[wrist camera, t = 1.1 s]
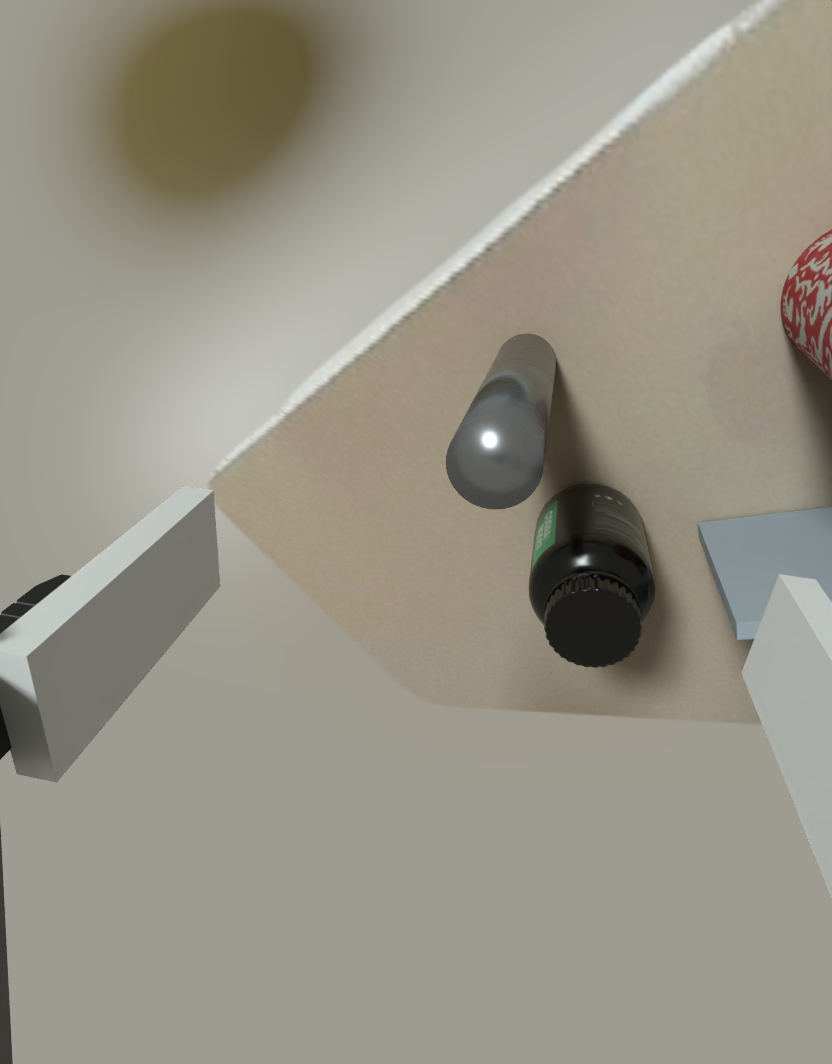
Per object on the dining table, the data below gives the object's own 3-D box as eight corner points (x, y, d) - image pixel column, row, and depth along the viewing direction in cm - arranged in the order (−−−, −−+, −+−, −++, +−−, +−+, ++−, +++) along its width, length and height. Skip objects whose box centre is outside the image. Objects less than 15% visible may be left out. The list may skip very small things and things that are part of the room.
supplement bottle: (520, 502, 45) (502, 593, 34) (621, 465, 42) (636, 551, 32) (558, 586, 47) (553, 697, 36) (657, 556, 44) (682, 665, 34)
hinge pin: (561, 338, 40) (552, 426, 24) (549, 397, 41) (533, 517, 25) (501, 329, 40) (452, 409, 24) (491, 388, 42) (440, 499, 26)
